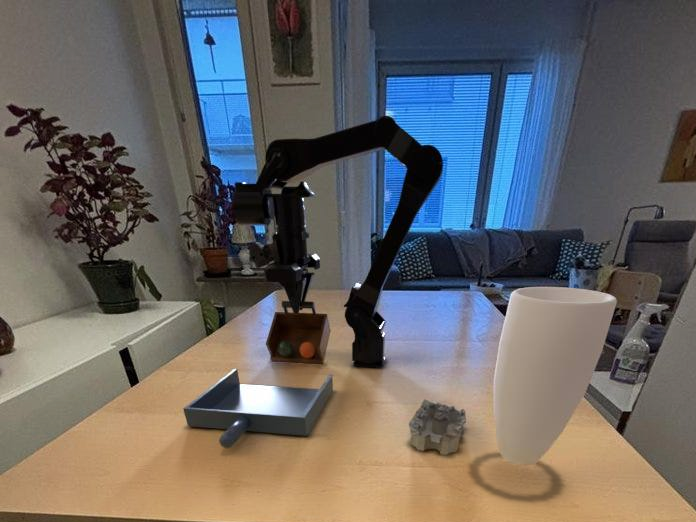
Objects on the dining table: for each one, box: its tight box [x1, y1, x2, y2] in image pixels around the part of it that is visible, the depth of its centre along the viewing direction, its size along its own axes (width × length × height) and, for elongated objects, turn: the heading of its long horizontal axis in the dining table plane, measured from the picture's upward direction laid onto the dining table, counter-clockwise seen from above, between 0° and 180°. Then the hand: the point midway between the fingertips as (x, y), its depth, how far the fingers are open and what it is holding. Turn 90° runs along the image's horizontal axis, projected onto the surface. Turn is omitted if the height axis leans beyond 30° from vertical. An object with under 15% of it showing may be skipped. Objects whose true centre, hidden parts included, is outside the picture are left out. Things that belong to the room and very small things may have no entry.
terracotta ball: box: [300, 342, 315, 358], centre depth 87 cm, size 3×3×3 cm
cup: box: [493, 286, 618, 466], centre depth 45 cm, size 10×10×22 cm
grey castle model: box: [408, 399, 467, 456], centre depth 59 cm, size 11×8×4 cm
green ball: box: [278, 341, 293, 357], centre depth 87 cm, size 3×3×3 cm
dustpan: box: [183, 368, 334, 449], centre depth 64 cm, size 26×19×3 cm
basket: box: [265, 300, 331, 366], centre depth 87 cm, size 12×10×8 cm
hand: (298, 311), depth 86 cm, fingers closed
